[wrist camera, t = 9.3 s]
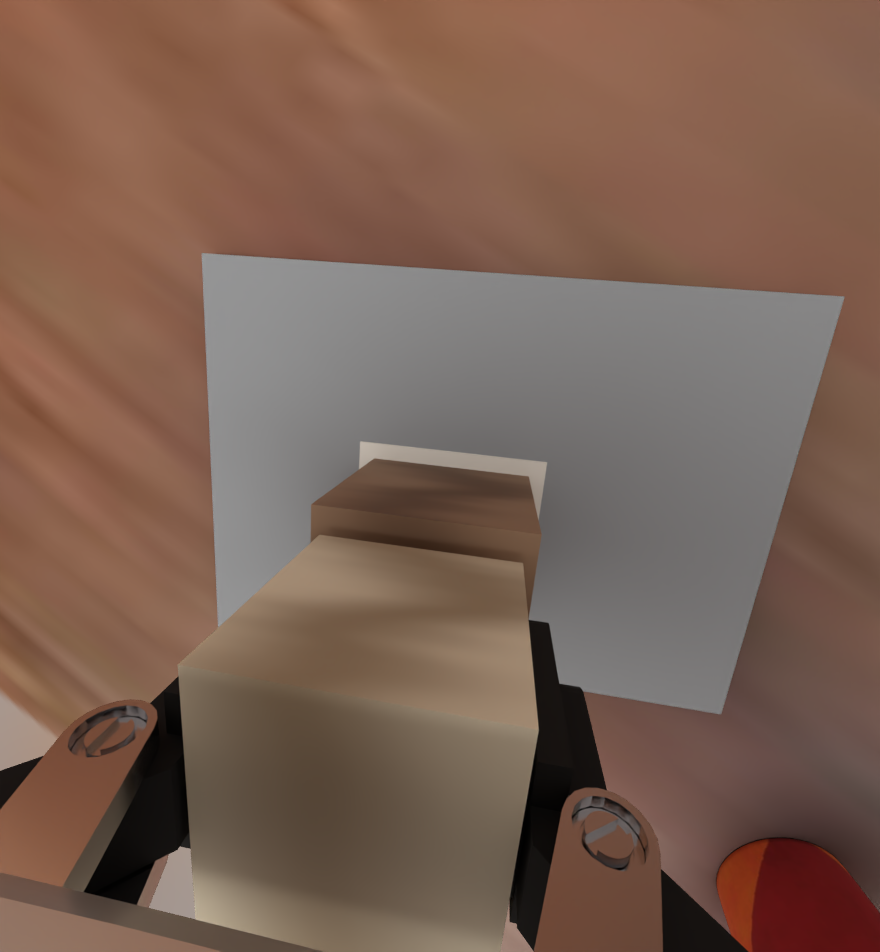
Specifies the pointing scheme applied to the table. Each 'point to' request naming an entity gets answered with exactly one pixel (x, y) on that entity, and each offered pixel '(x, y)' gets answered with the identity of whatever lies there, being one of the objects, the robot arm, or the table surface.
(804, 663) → the table surface
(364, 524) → the walnut block
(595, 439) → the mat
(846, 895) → the paper cup
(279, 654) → the birch block
